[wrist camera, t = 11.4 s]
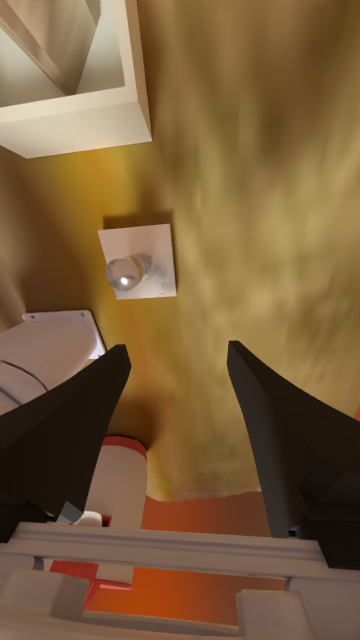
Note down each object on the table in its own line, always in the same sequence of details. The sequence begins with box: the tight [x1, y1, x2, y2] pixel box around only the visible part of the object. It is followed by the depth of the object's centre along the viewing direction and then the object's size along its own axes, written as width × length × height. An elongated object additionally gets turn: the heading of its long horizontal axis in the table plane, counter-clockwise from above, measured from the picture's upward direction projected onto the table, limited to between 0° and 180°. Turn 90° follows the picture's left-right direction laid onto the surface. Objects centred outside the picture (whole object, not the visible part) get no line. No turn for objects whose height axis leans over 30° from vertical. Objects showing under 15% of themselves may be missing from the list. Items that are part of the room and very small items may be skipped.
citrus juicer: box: [43, 436, 147, 610], centre depth 28 cm, size 16×17×20 cm
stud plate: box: [98, 224, 177, 299], centre depth 14 cm, size 7×7×6 cm
